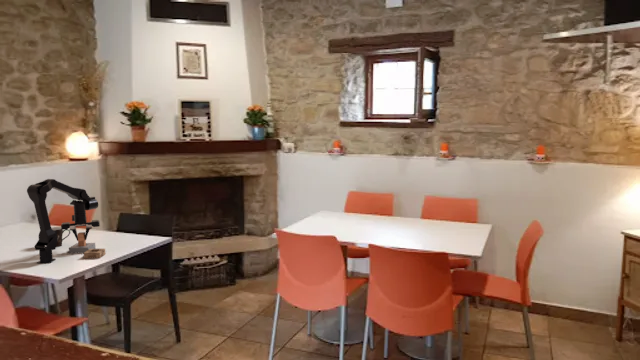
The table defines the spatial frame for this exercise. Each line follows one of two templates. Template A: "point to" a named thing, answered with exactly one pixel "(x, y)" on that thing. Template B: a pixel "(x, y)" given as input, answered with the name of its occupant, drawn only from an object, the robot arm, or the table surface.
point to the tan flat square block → (94, 253)
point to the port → (81, 248)
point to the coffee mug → (60, 235)
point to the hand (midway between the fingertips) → (81, 240)
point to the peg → (81, 239)
